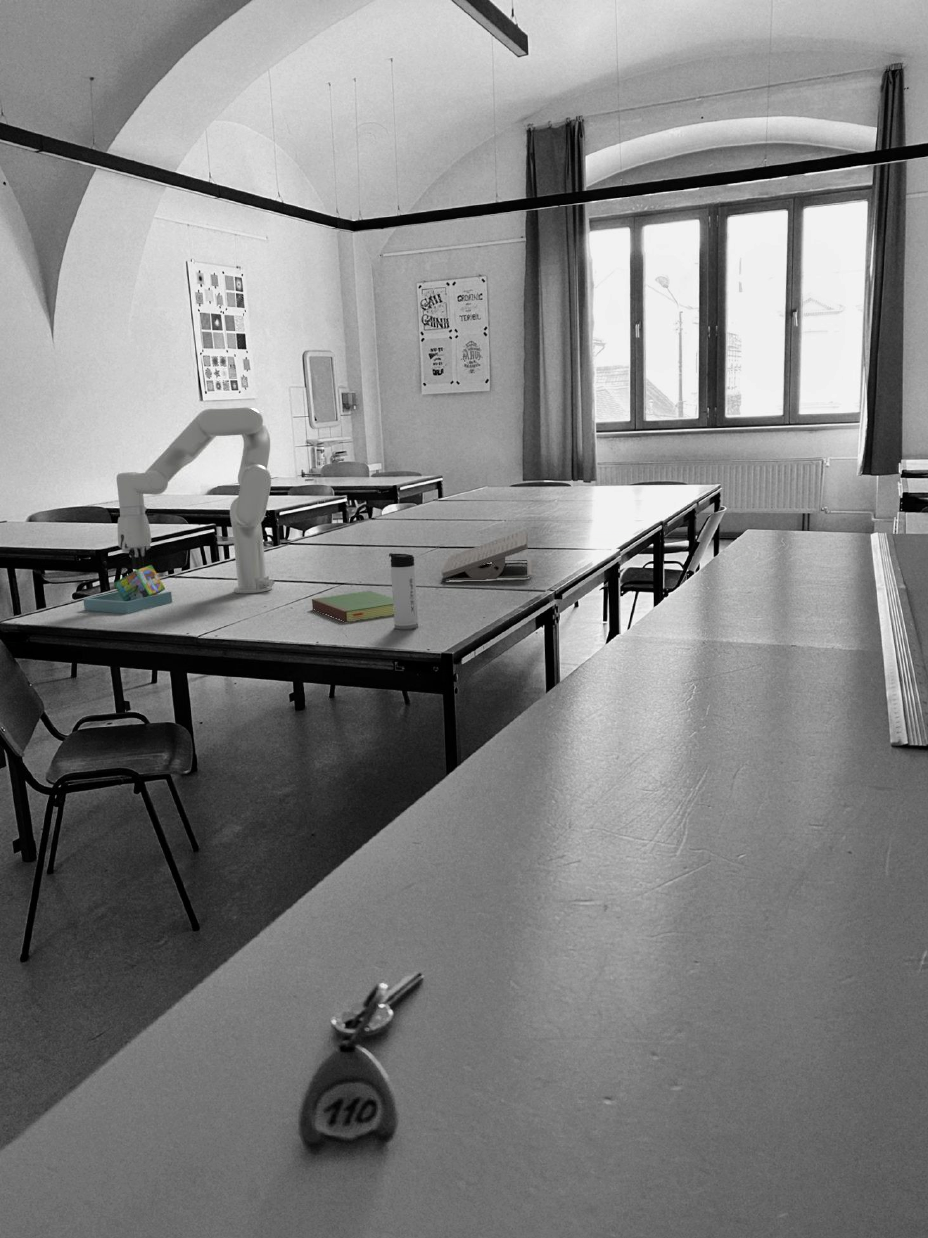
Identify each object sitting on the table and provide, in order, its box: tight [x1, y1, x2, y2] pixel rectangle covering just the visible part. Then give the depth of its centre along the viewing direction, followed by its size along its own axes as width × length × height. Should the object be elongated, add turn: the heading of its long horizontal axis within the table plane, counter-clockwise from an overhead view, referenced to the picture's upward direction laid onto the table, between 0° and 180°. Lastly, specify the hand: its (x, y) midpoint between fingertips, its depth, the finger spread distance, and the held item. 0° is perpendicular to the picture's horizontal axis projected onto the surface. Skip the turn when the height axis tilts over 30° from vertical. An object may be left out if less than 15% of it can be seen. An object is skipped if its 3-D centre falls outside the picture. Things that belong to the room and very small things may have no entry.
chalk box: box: [113, 564, 166, 602], centre depth 313 cm, size 9×9×15 cm
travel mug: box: [388, 552, 419, 631], centre depth 261 cm, size 6×7×20 cm
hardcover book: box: [311, 590, 394, 623], centre depth 287 cm, size 25×19×4 cm
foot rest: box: [441, 530, 533, 582], centre depth 344 cm, size 39×30×13 cm
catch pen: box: [83, 590, 173, 615], centre depth 313 cm, size 19×18×4 cm
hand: (138, 568), depth 316 cm, fingers closed
